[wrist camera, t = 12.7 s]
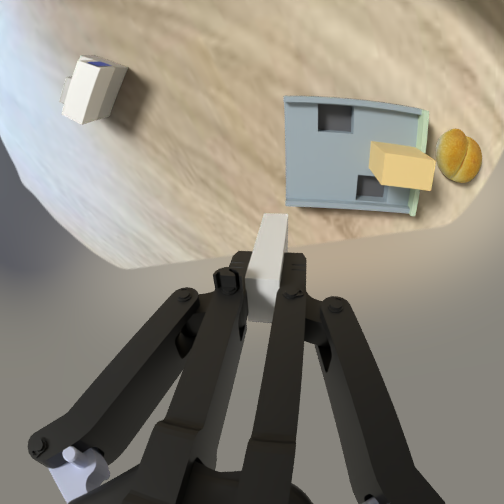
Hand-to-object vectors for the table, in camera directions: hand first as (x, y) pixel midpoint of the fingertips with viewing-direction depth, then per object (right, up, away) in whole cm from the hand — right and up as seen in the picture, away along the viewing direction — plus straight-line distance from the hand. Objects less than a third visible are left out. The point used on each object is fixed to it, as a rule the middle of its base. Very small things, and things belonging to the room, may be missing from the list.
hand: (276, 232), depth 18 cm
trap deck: (+13, +14, +20) cm, 28 cm away
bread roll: (+31, +15, +17) cm, 38 cm away
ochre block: (+18, +12, +17) cm, 28 cm away
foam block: (-32, +27, +21) cm, 47 cm away
